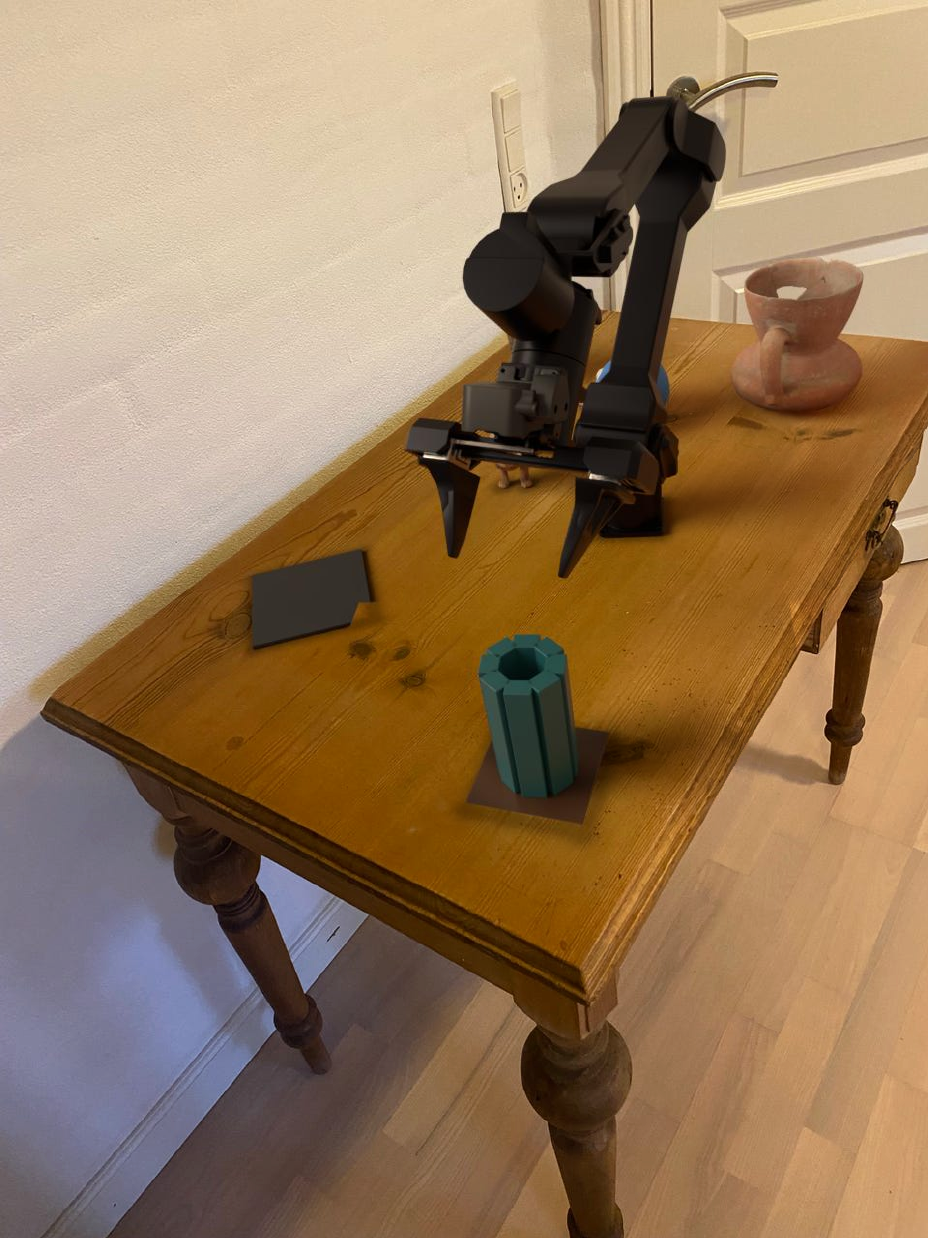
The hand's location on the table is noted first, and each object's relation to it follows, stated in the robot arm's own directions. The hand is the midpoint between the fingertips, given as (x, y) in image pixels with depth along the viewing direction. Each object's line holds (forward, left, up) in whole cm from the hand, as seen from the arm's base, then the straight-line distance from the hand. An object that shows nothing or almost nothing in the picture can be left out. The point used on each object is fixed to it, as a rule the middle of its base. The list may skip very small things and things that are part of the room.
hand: (505, 567), depth 67 cm
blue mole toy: (-6, -45, -14) cm, 48 cm away
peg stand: (-2, +9, -14) cm, 16 cm away
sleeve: (-2, +9, -13) cm, 15 cm away
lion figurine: (+4, -35, -14) cm, 38 cm away
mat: (+24, -13, -14) cm, 31 cm away
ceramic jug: (-26, -49, -14) cm, 58 cm away
